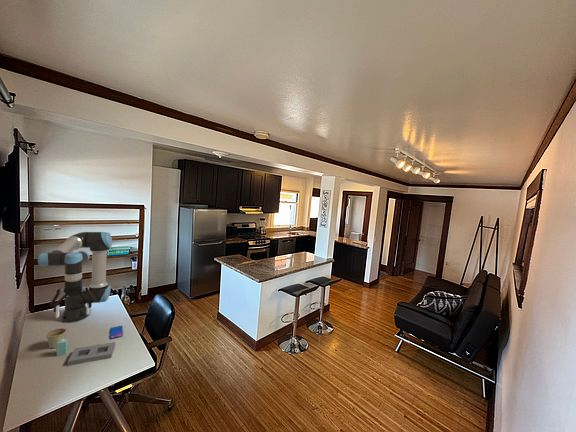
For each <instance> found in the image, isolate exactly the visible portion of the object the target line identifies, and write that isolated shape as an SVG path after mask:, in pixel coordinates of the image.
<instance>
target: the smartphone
mask: <svg viewBox="0 0 576 432" xmlns="http://www.w3.org/2000/svg"><path fill="white" fill-rule="evenodd" d="M123 332H124V331H123V325H118V326H112V327H110V329H109V340H114V339H118V338H122V337H123V336H124V335H123V334H124V333H123Z"/></svg>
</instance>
